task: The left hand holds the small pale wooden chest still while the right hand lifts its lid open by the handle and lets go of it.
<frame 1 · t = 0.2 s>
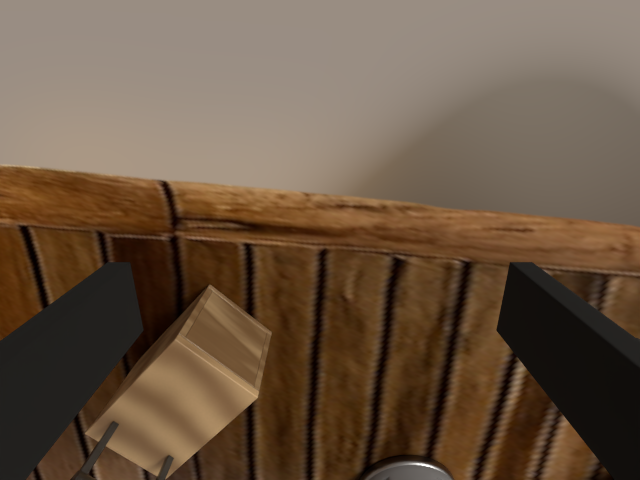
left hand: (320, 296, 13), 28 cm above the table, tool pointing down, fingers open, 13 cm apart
lid: (154, 445, 33), point 14 cm above the table, hinge at 0.0°
chest: (204, 345, 47), on the table
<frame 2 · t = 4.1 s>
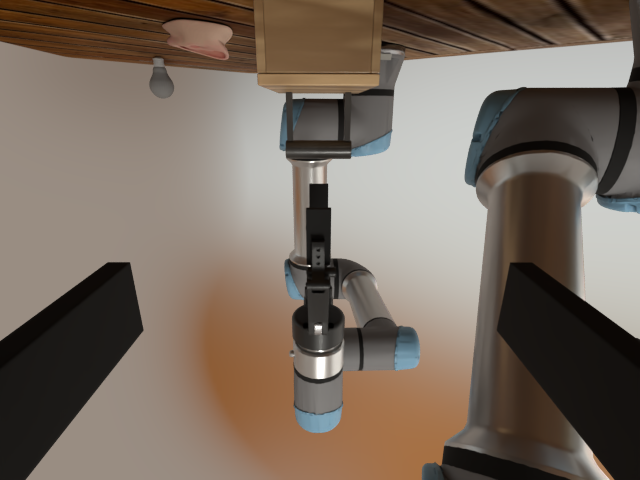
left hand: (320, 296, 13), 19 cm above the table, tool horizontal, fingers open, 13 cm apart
anatomical model: (199, 27, 60), on the table
lid: (318, 124, 38), point 14 cm above the table, hinge at 0.0°
light bulb: (157, 56, 94), on the table
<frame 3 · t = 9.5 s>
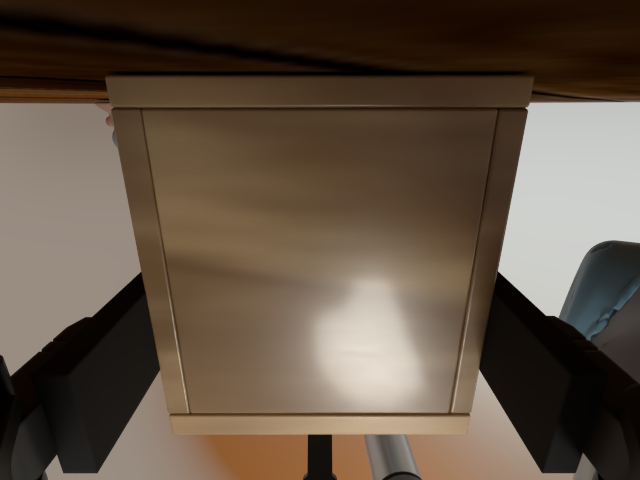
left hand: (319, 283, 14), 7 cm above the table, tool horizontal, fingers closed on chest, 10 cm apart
lid: (319, 359, 21), point 14 cm above the table, hinge at 0.0°
chest: (319, 89, 15), on the table, touching left hand
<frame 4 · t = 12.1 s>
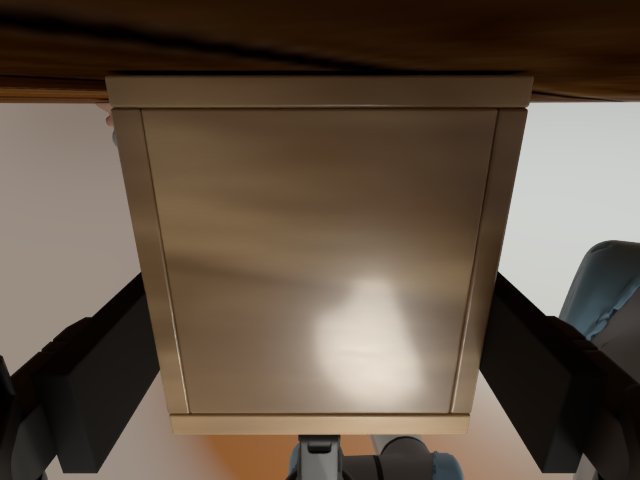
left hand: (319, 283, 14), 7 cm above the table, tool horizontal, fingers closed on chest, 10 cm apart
lid: (319, 360, 21), point 14 cm above the table, hinge at 0.1°, touching right hand
chest: (319, 89, 15), on the table, touching left hand
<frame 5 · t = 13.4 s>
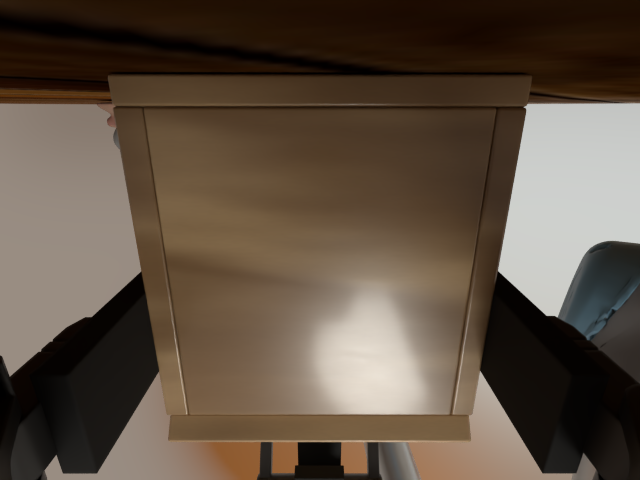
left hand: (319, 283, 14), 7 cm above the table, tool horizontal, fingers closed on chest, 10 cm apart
lid: (319, 465, 19), point 18 cm above the table, hinge at 33.1°, touching right hand
chest: (320, 92, 15), on the table, touching left hand
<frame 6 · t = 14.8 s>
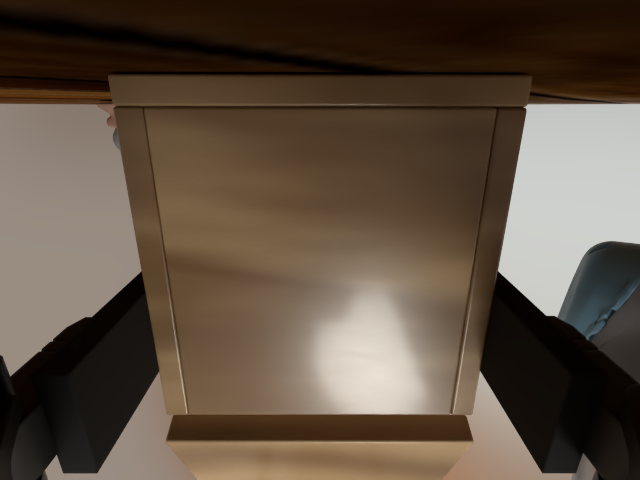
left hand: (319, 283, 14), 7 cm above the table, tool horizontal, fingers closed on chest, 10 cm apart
chest: (320, 92, 15), on the table, touching left hand
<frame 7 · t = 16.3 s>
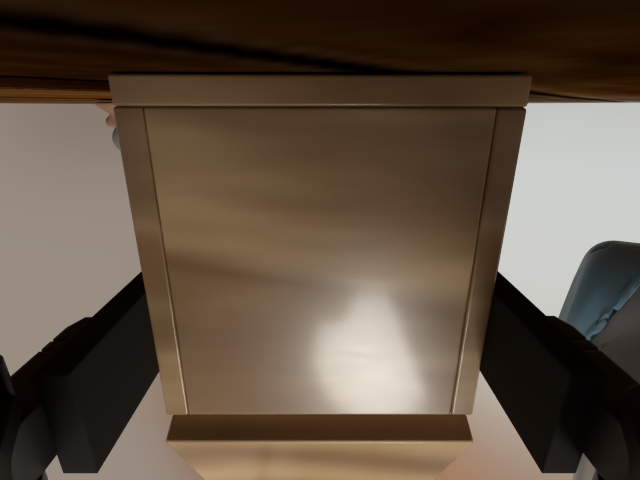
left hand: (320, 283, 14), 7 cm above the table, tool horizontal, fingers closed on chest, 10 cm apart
anatomical model: (151, 100, 43), on the table
light bulb: (121, 103, 76), on the table
chest: (319, 92, 16), on the table, touching left hand
when the left hand's fingers open (7 cm above the table, at t = 19.1 s): chest stays where it is, on the table.
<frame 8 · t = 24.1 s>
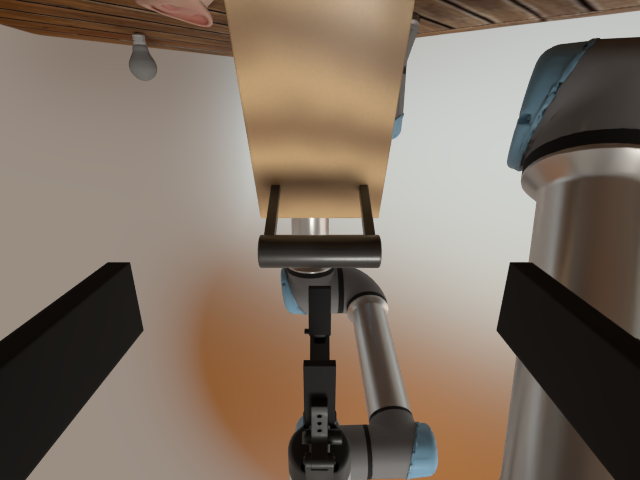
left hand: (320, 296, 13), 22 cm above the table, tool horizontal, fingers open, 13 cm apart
lid: (319, 164, 22), point 19 cm above the table, hinge at 62.3°
light bulb: (137, 32, 83), on the table
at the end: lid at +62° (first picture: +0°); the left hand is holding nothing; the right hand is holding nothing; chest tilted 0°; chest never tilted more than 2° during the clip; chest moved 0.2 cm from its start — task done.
